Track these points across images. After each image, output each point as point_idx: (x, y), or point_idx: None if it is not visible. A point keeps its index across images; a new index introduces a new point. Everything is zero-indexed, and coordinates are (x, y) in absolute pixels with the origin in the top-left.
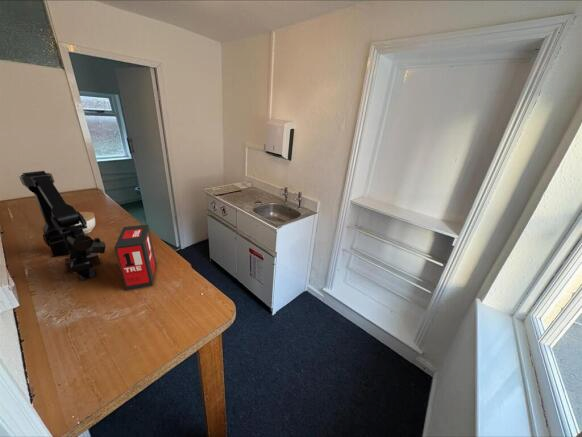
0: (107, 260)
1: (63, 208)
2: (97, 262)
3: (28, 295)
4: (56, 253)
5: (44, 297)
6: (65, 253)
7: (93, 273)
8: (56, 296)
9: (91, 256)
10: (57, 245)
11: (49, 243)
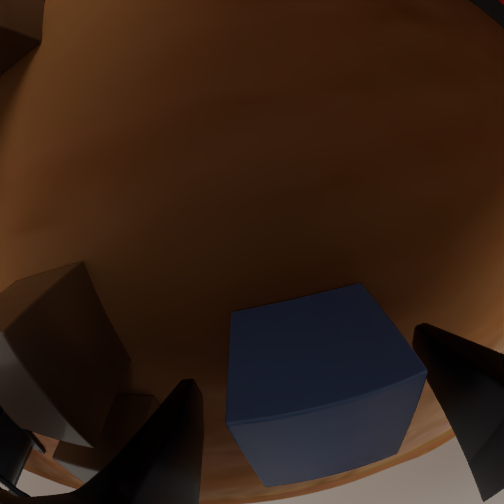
0: (43, 195)
1: None
2: (80, 296)
3: (342, 480)
4: (29, 447)
5: (403, 443)
6: (16, 424)
7: (378, 305)
8: (435, 411)
9: (42, 401)
10: (8, 473)
11: (17, 494)
